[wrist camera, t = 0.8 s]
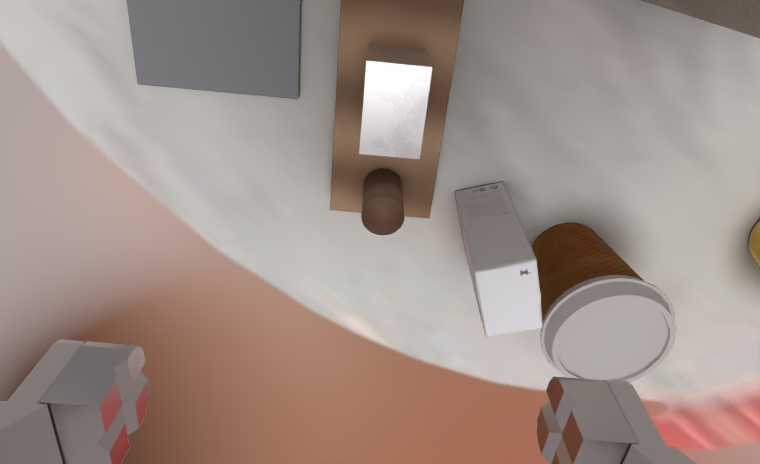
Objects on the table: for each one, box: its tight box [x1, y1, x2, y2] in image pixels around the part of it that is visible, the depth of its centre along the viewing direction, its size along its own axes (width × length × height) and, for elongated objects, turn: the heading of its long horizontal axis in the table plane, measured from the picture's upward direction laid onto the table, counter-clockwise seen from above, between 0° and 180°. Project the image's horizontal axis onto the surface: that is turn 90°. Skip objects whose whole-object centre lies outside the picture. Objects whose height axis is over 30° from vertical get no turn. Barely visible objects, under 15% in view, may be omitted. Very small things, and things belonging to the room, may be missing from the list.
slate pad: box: [127, 0, 301, 99], centre depth 38 cm, size 12×12×1 cm
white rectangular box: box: [359, 44, 432, 159], centre depth 36 cm, size 6×4×5 cm, turn 175°
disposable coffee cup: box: [532, 223, 676, 382], centre depth 44 cm, size 10×10×12 cm
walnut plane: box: [330, 0, 464, 235], centre depth 38 cm, size 20×8×8 cm, turn 175°
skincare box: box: [455, 182, 543, 337], centre depth 42 cm, size 6×4×12 cm
